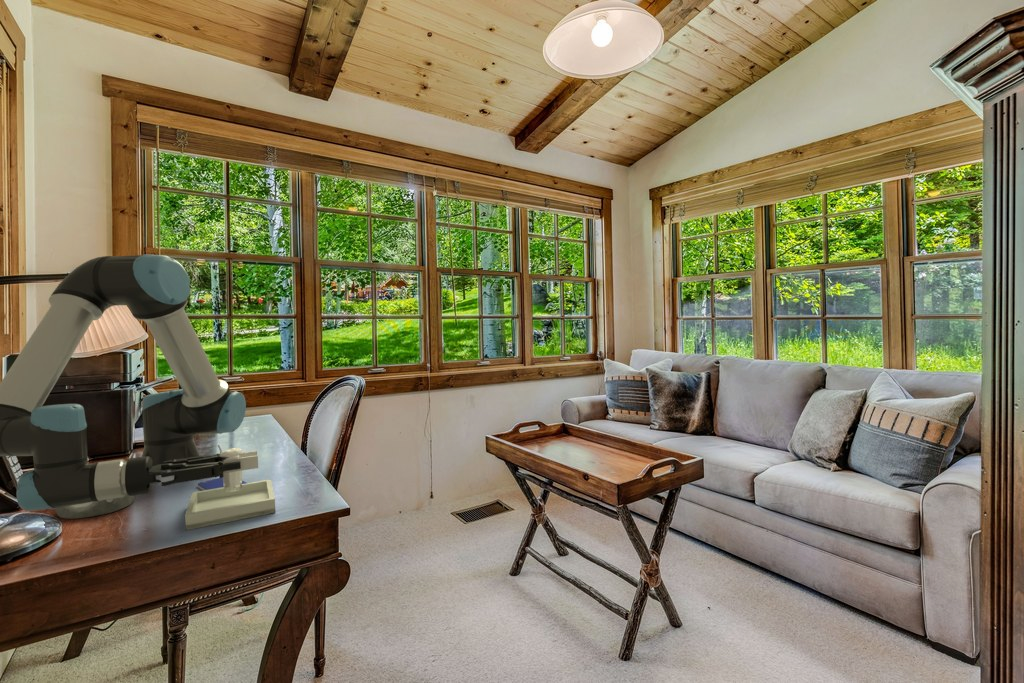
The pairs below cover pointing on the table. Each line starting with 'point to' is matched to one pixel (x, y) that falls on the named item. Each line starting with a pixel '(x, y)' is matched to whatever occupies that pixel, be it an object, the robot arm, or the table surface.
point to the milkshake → (231, 479)
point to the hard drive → (212, 484)
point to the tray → (229, 504)
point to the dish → (94, 508)
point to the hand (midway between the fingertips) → (257, 459)
